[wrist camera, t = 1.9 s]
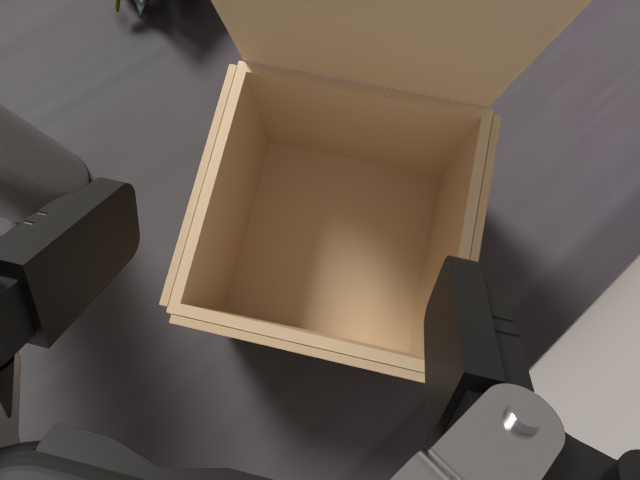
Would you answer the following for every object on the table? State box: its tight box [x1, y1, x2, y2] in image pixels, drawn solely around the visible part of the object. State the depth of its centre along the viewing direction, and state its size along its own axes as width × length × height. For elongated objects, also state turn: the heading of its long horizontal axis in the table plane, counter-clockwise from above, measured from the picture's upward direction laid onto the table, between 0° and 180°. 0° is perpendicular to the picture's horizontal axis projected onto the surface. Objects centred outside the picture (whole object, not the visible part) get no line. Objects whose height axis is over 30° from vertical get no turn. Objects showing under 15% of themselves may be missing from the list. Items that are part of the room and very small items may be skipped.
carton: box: [159, 61, 502, 383], centre depth 39 cm, size 21×21×14 cm
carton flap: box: [211, 0, 592, 107], centre depth 24 cm, size 20×19×1 cm
